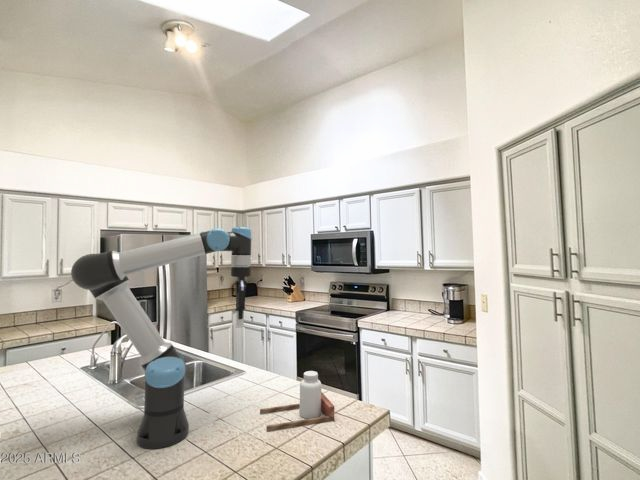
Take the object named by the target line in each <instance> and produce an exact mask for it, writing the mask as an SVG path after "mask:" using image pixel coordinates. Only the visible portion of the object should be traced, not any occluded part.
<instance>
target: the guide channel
mask: <svg viewBox="0 0 640 480" xmlns="http://www.w3.org/2000/svg"><path fill="white" fill-rule="evenodd" d="M292 410H300V403H293V404H287V405H279V406H273V407H265V408H260V409H259V414H260V415H265V414H266V415H268V414H273V413H279V412H286V411H292ZM321 414H323V416H319V417H317V418H312V419H307V418H304V419H300V420H294V421H289V422H288V421H287V422H281V423H275V424H268V425H266V433H267V432H274V431H280V430H285V429H291V428H297V427H304V426H311V425H315V424H322V423H329V422H334V421H335V405H334V404H333V403H332V401H331V400H330V399H329V398H328V397H327V396H326V395H325V394H324V393H323V392H322V391H321Z"/></svg>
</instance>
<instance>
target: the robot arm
mask: <svg viewBox="0 0 640 480" xmlns="http://www.w3.org/2000/svg"><path fill="white" fill-rule="evenodd" d="M216 252H231V256H230V263H231V264H230V265H231V266H232V267H231V268H230V270H231V271H230V276H231V277H233V278H236V281H235V283H234V284H235V309H234V310H235V312H236V313H235V314H236V316H235V317H236V320H235V323H236V324H235V327H236V328H244V327H245V326H244V325H245V310H246V293H247V291H246V289H247V281H246V280H245V278H248V277H249V278H250V277H251V275H252V273H251V272H252V269H251V268H252V267H251V261H253V258H252V230H251V228H249V227H245V226H234V227H232V228H231V231H226V230H224V229H223V228H219V227H218V228H212V229H210V230H207V231H201V232H199V233H195V234H190V235H187V236H186V235H185V236H182V237H179V238H174V239H170V240H165V241H162V242H158V243H157V242H156V243H154V244H150V245H145V246H142V247H141V246H140V247H137V248H133V249H128V250H125V251H121V252H118V251H116V250H111V251H105V252H100V253H90V254H89V253H88V254H85V255H82V256H80V257H79V258H78V259H77V260H75V262H74V263H73V265H72V267H71V270H70V271H71V272H70V275H71V278H72V282H74V284H75V285H77V286H78V287H79V288H81V289H84V290H88V291H89V292H90V293H91V295H92V296H93V298H94V299H95V300H99V301H103V303H104V305H106V308H107V309H108V310H109V311H110V313H111V315H112V316H113V317H114V319H115V321H116V322H117V324H118V325H119V326H120V328H121V329H122V330H123V332H124V334H125V335H126V336H127V338H128V339H129V341H130V342H131V343H132V345H133V347H134V348H135V349H136V351H137V353H138V354H139V355H140V357H141V359H140V360H141V361H140V366H141V367H142V369H143V370H144V381H145V382H144V409H143V411H144V413H143V417H142V419H141V422H140V425H139V428H138V431H137V434H136V443H137V445H138V446H140V448H141V447H142V448H143V449H150V450H151V449H152V450H153V449H154V450H155V449H156V450H157V449H162V448H167V447H170V446H173V445H176V444H178V443H179V442H182V441H183V440H184V439H185V438H187V436H188V435H189V431H190V429H189V428H190V424H189V421H188V418H187V414H186V411H185V408H184V406H185V376H186V368H187V364H186V360H185V357H184V355H182V354H181V353H180V352H178V351H177V349H176V348H175V346H174V345H173V344H172V343H171V342H166V341H165V340H164V338H163V337H162V336H161V334H160V332H159V331H158V329H157V327H156V326H155V324H153V322H152V320H151V319H150V317H149V316H148V314H147V313H146V311H145V310H144V309H143V307H142V305H141V304H140V303H139V301H138V300H137V298H136V297H135V295H134V294H133V292H132V290H131V289H130V287H129V283H130V279H129V277H128V275H133V274H137V273H140V272H143V271H148V270H151V269H155V268H160V267H162V266H166V265H169V264H173V263H179V262H181V261H182V262H183V261H184V260H189V259H192V258H195V257H199V256H204V255H208V254H211V253H216Z"/></svg>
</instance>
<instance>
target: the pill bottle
mask: <svg viewBox="0 0 640 480" xmlns="http://www.w3.org/2000/svg"><path fill="white" fill-rule="evenodd" d="M321 392H322V382H321V381H320V379H319V374H318V371H314V370H308V371H305V372H303V379H302V380H301V381H300V384H299V404H300V409H299V416H300V417H301V418H304V419H312V418H318V417H321V414H322V412H321Z"/></svg>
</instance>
